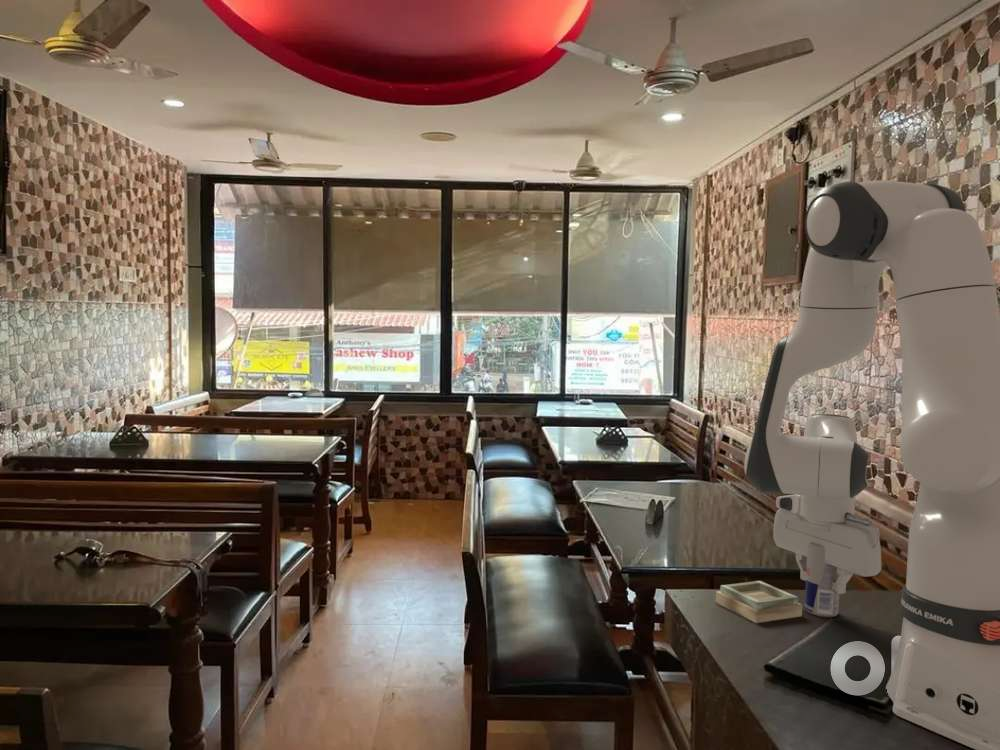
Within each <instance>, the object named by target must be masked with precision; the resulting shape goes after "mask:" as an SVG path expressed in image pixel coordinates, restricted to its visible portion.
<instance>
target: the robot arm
mask: <svg viewBox="0 0 1000 750" xmlns="http://www.w3.org/2000/svg"><path fill="white" fill-rule="evenodd" d="M804 232H805V235H806V239H807V241H808V244H809V246H810V249H809V251H808V253H807V257H806V261H805V265H804V270H803V276H802V280H801V281H802V282H801V290H800V298H799V301H800V302H799V311H798V312H799V313H798V317H797V320H796V322H795V325H794V327H793V329H792V330H791V331H790V333H789V334H788V335H786V336H784V337H782V338H780V339H779V340H778V342H777V344H776V346H775V348H774V349H773V353H772V357H771V361H770V364H769V369H768V371H767V376H766V380H765V384H764V388H763V392H762V397H761V402H760V406H759V411H758V415H757V417H756V419H757V420H756V423H755V428H754V432H753V435H752V437H751V439H750V441H749V444H748V447H747V449H746V452H745V456H744V464H743V465H744V468H743V469H744V473H745V479H746V480H747V481H748V482H749V483H750V485H751V486H753V488H754V489H756V490H757V491H758V492H760V493H761V494H764V495H766V494H767V495H781V496H777V497H776V498H775V506H776V508H777V509H778V510H777V511H776V512H775V515H774V522H773V536H772V537H773V542H774V543H775V545H776V547H779V548H781V549H784V550H787V551H790V552H793V553H795V561H796V563H797V566H798V568H799V570H800V572H799V573H800V574H799V575H800V576H799V577H800V580H801V581H802V580H803V581H805V582H806V571H807V552H808V545H809V542H810V543H812V544H814V545H817V546H822V547H824V550H825V562H826V563H827V564H829V565H832V566H835V567H837V574H840V576H839V577H838V579H837V581H832V582H831V586H832V587H831V591H833V592H835V593H837V594H839V595H845V594H846V590H847V589H846V588H847V584H848V582H849V581H850V580H851V579H852V577H853V575H854V574H855V575H858V576H860V577H865V578H866V577H872V576H877V575H878V574H879V573H880V572H881V570H882V551H881V549H882V548H881V542H880V529H879V527H878V526H877V525H876V524H875V522H873V520H872V519H870V518H868V517H864V516H863V517H862V516H859V515H857V514H855V510H856V507H855V506H856V496H857V495H860V494H861V493H862V492H863V491H864V490H865V489H867V488H868V482H867V470H868V460H869V456H870V453H869V452H868V451H866V450H865V449H864V448H863V447H862V446H861V445H860V444H858V437H857V429H856V422H855V420H854V419H853V418H852V417H850V416H846V415H841V414H835V413H833V414H832V413H831V414H830V413H818V414H811V415H810V416H808V417H807V419H806V423H805V427H804V432H803V433H804V434H803V435H802V436H801V435H789V434H786V433H784V432H782V430H781V429H782V424H783V420H784V416H785V412H786V409H787V404H788V399H789V397H790V391H791V389H792V388H793V385H794V384H795V383H796V382H797V381H798V380H800V379H801V378H803V377H804V376H807V375H809V374H811V373H814V372H817V371H821V370H824V369H827V368H831V367H835V366H838V365H839V364H843V363H845V362H847V361H850V360H853V358H855V357H857V356H859V355H860V354H862V353H863V352H864V351H865V350H866V349H867V348H868V347H869V346H870V345H871V342H872V341H873V340H874V337H875V332H876V328H877V322H878V315H879V314H878V313H879V295H880V294H879V290H880V289H879V288H880V287H879V286H880V281H881V276H882V274H883V272H884V271H885V270H886V268H888V267H889V268H890V270H891V273H892V278H893V287H894V288H893V289H894V298H895V306H896V307H895V308H896V315H897V316H896V317H897V324H898V325H897V326H898V332H899V340H900V347H901V357H902V381H901V383H902V385H901V436H900V441H899V455H900V458H901V461H902V464H903V465H904V468H905V469H906V471H907V472H908V473H909V474H910V476H911V477H913V479H915V480H916V481H917V482H919V488H918V493H917V498H916V503H915V506H914V511H913V513H912V514H913V515H912V518H911V521H910V524H909V527H908V542H907V543H908V544H907V563H906V580H905V582H906V583H905V584H904V585H903V586H902V588H901V598H900V615H901V620H902V625H901V633H900V639H899V645H898V650H897V654H896V658H895V661H894V665H893V669H892V671H891V674H890V676H889V679H888V681H887V684H886V686H885V690H886V689H887V692H886V694H887V693H888V694H887V695H888V697H889V698H890V699H891V701H892V703H893V705H892V712H893V714H895V715H896V716H897V717H900V718H902V719H904V720H907V721H908V722H912V723H913V724H916V725H918V726H921V727H922V728H925V729H927V730H929V731H932V732H934V733H936V734H938V735H941V736H943V737H946V738H948V739H950V740H952V741H955V742H957V743H959V744H961V745H965V746H966V747H969V748H971V749H974V750H1000V308H999V301H998V294H997V289H996V288H997V287H996V282H995V276H994V275H995V274H994V271H993V266H992V260H991V257H990V254H989V249H988V246H987V243H986V241H985V238H984V235H983V232H982V230H981V228H980V225H979V223H978V221H977V220H976V218H975V217H974V216H973V215H972V214H970V213H969V212H967V210H966V206H965V203H964V200H963V199H962V197H961V196H960V195H959V194H958V193H957V192H956V191H954V190H953V189H951V188H949V187H946V186H942V185H940V184H936V183H931V182H926V183H925V182H924V183H916V182H908V181H907V182H906V181H896V180H891V179H890V180H889V179H887V180H885V179H884V180H883V179H882V180H881V179H878V180H866V181H859V182H855V181H850V180H849V181H843V182H838V183H834V184H831V185H828V186H826V187H823V188H822V189H820V190H818V192H817V193H815V195H814V196H813V197H812V199H811V200H810V202H809V205H808V207H807V209H806V212H805V217H804ZM784 494H787V495H784Z"/></svg>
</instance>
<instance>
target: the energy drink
mask: <svg viewBox="0 0 1000 750" xmlns="http://www.w3.org/2000/svg"><path fill="white" fill-rule="evenodd" d="M839 576H840V574H837V567H835V566H832V565H829V564H827V563H826V562H825V550H824V547H822V546H817V545H814V544H812V543H810V542H809V545H808V552H807V571H806V581H805V591H804V592H805V595H804V596H805V597H804V609H805V610H806V612H807V613H809V614H811V615H813V616H817V617H820V618H821V617H823V618H833V617H837V615H838V614H839V606H840V605H839V604H840V594H837V593H835V592H833V591H831V587H832V586H831V582H832V581H837V579H838V577H839Z"/></svg>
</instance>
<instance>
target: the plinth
mask: <svg viewBox="0 0 1000 750" xmlns="http://www.w3.org/2000/svg"><path fill="white" fill-rule="evenodd" d="M719 587H720V588H719V589H720V590H719V591H718V590H717V591H716V592H715V603H716V604H718V605H719V606H721V607H723V608H725V609H727V610H729V611H731V612H733V613H734V614H735V613H736V614H737V615H738V616H741V617H743V618H745V619H747V620H749V621H751V622H753V623H754V624H760V623H767V622H771V621H772V622H773V621H780V620H785V619H793V618H798V617H799V618H800V617H802V615H803V604H801V603H800V602H799V596H797V595H795V594H792V593H790V592H788V591H785V590H784V589H783V590H782V589H780V588H778V587H775V586H774V585H771V584H769V583H766V582H764V581H762V580H755V581H754V580H753V581H745V582H738V583H730V584H721V585H720V586H719Z"/></svg>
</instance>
